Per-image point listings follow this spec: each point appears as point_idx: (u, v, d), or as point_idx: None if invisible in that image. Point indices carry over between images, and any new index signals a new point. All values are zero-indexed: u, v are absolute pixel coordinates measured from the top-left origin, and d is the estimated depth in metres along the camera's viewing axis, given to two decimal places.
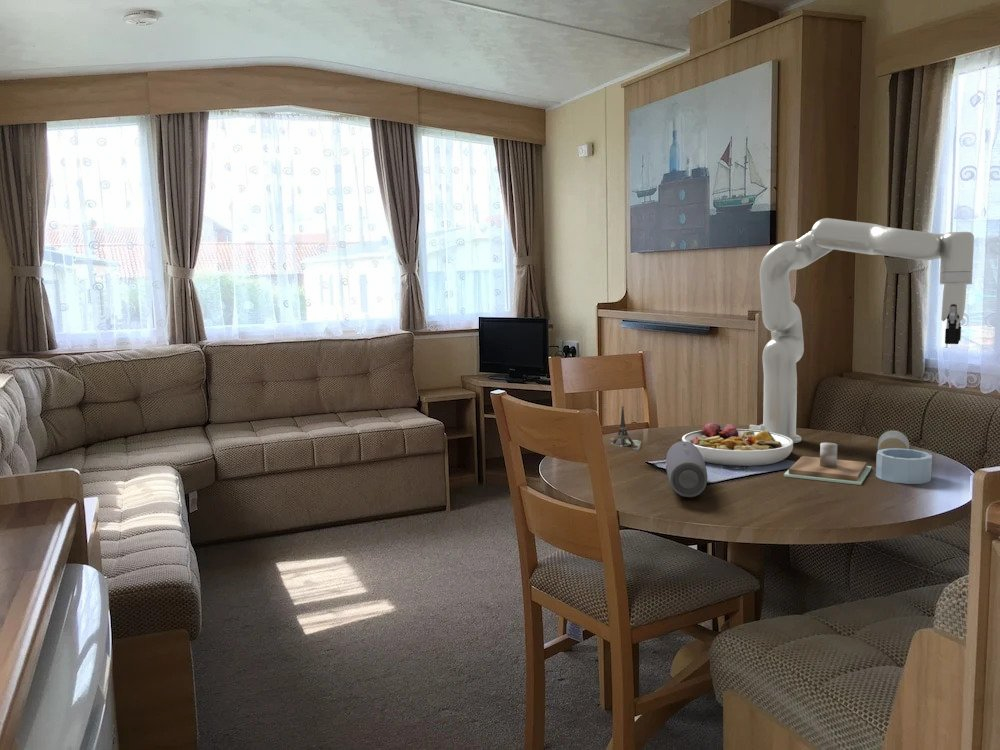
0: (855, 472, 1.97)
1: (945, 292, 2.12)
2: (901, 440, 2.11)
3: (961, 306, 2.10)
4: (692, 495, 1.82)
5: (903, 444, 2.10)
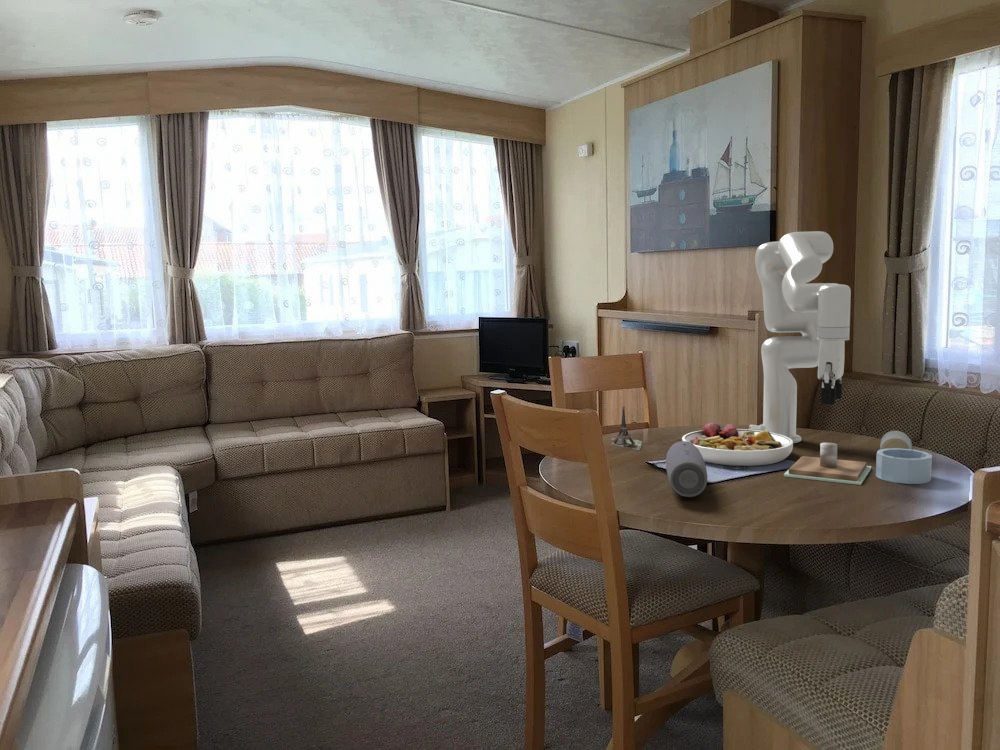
0: (855, 472, 1.97)
1: (820, 349, 1.98)
2: (903, 440, 2.11)
3: (837, 364, 1.96)
4: (692, 495, 1.82)
5: (905, 444, 2.10)
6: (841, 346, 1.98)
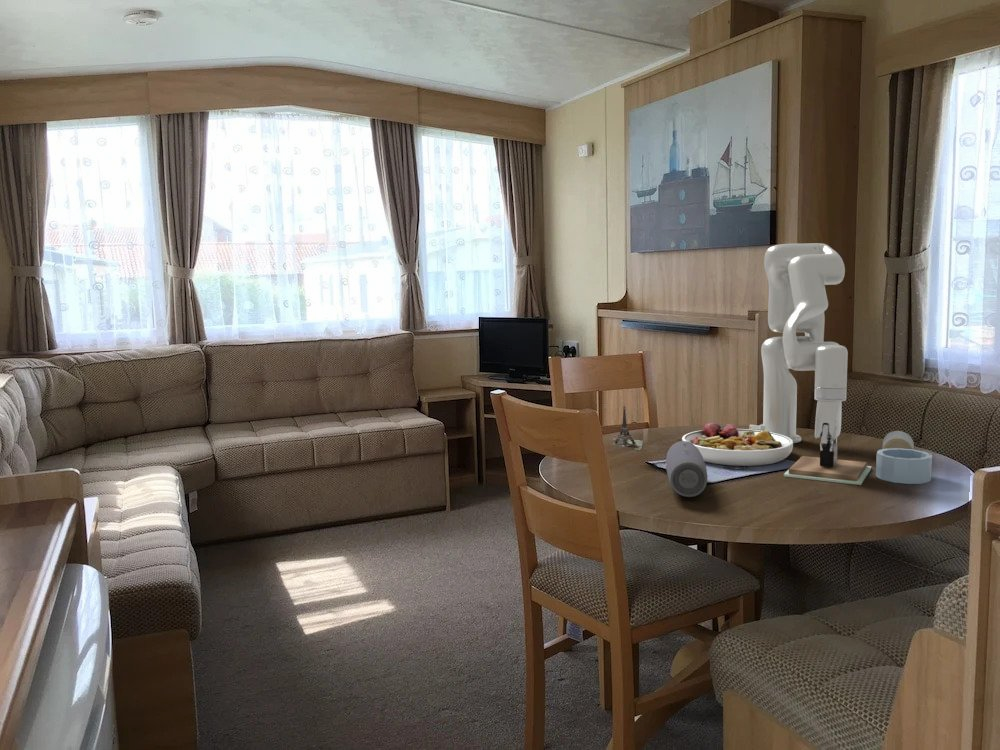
0: (855, 472, 1.97)
1: (817, 409, 2.00)
2: (906, 440, 2.10)
3: (833, 425, 1.98)
4: (692, 495, 1.82)
5: (908, 444, 2.10)
6: (838, 407, 2.00)
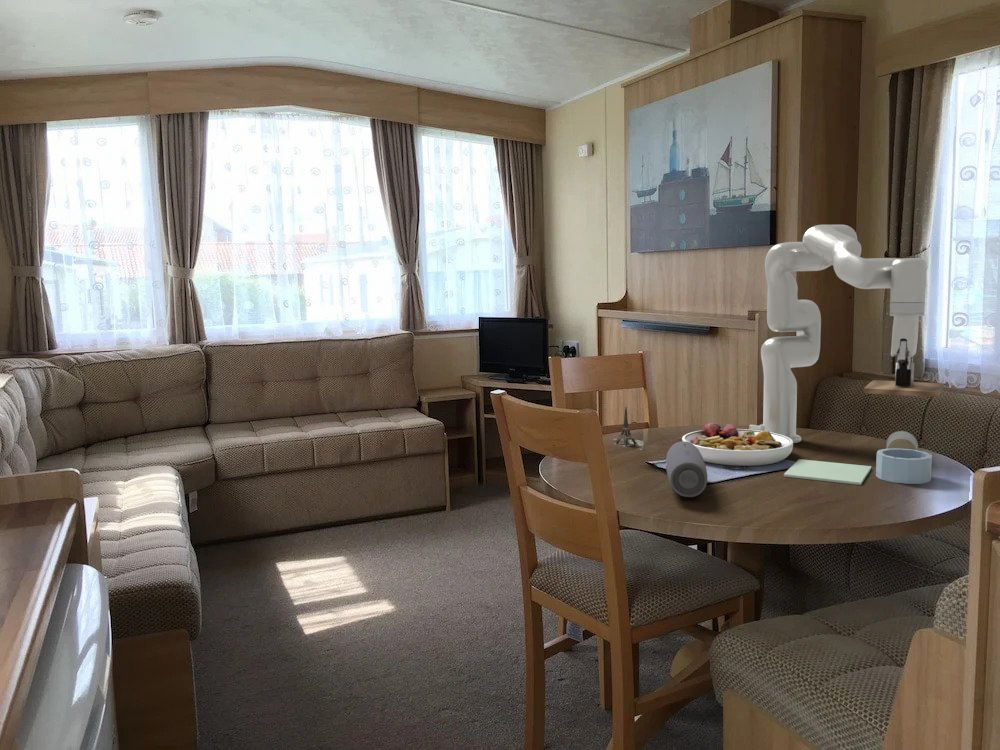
0: (935, 389, 1.88)
1: (894, 325, 1.91)
2: (910, 441, 2.10)
3: (912, 341, 1.89)
4: (692, 495, 1.82)
5: (912, 445, 2.09)
6: (916, 322, 1.91)
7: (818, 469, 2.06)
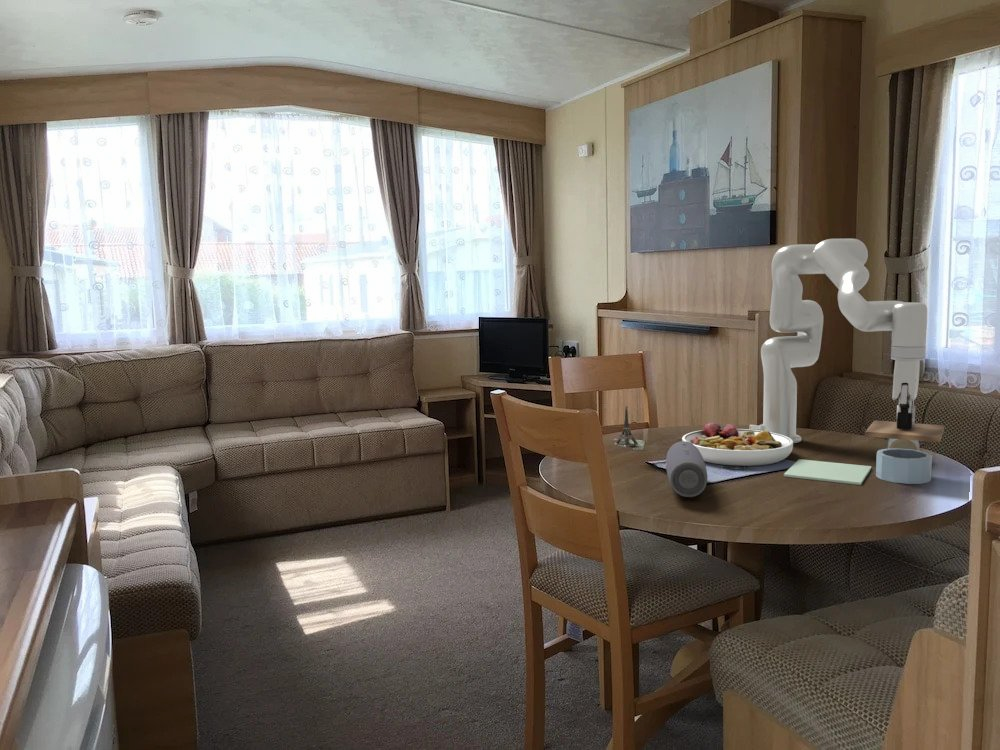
0: (936, 434, 1.90)
1: (896, 369, 1.92)
2: (911, 441, 2.10)
3: (913, 385, 1.90)
4: (692, 495, 1.82)
5: (913, 445, 2.09)
6: (917, 366, 1.92)
7: (818, 469, 2.06)
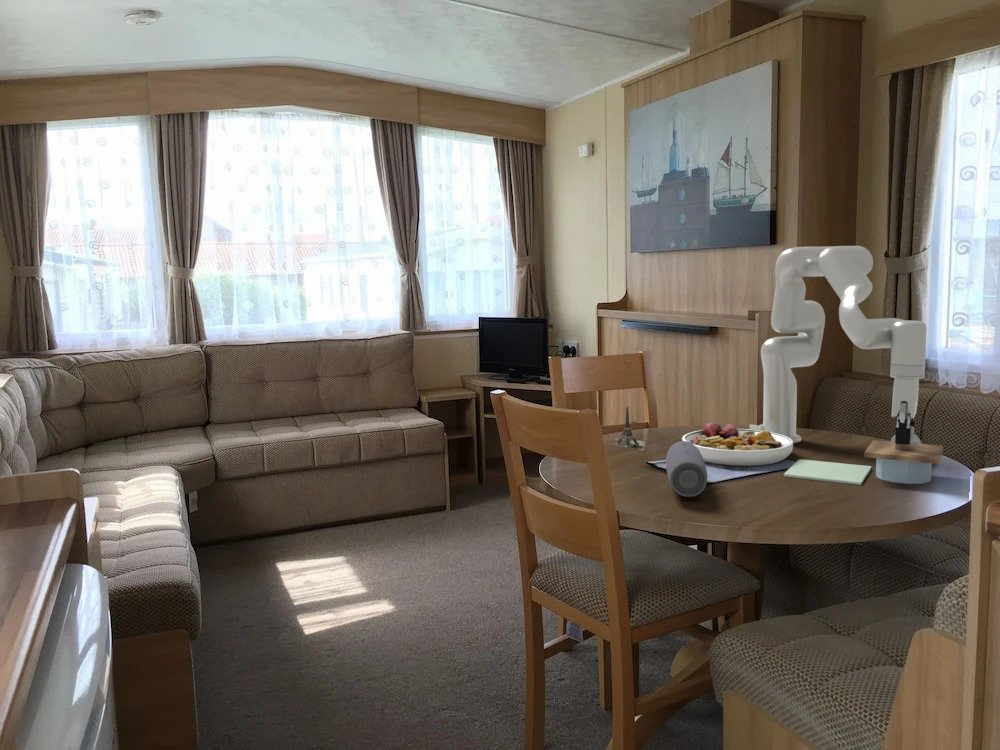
0: (935, 455, 1.90)
1: (895, 387, 1.93)
2: (914, 441, 2.10)
3: (912, 403, 1.91)
4: (692, 495, 1.82)
5: None
6: (916, 384, 1.92)
7: (818, 469, 2.06)
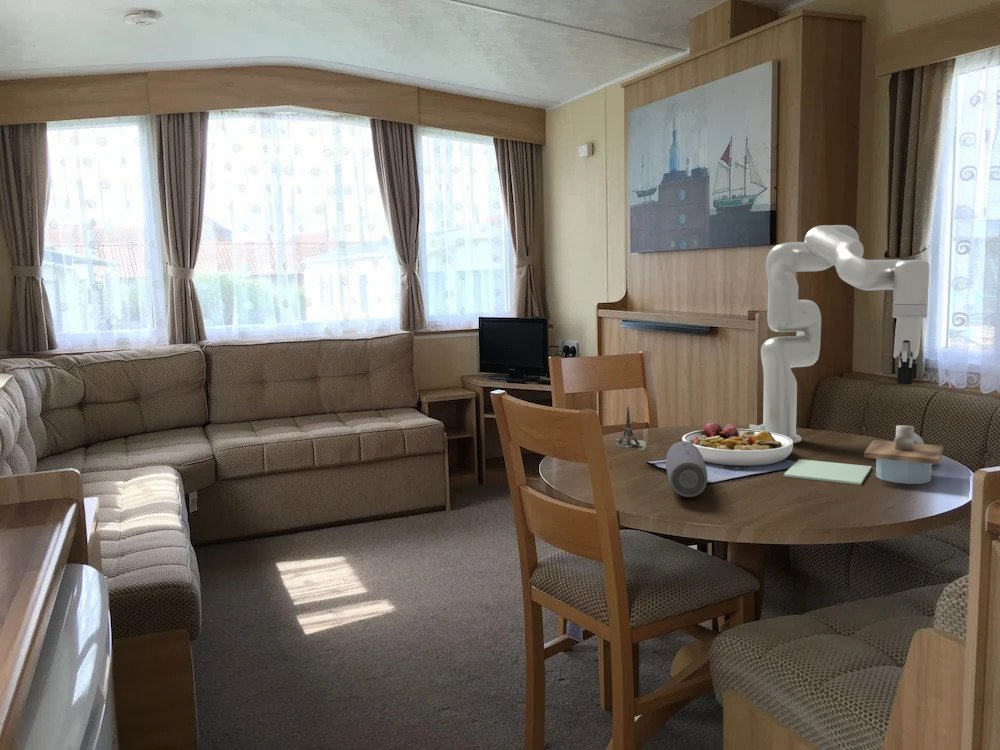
0: (935, 455, 1.90)
1: (897, 327, 1.91)
2: (917, 441, 2.09)
3: (915, 343, 1.89)
4: (692, 495, 1.82)
5: None
6: (919, 324, 1.90)
7: (818, 469, 2.06)
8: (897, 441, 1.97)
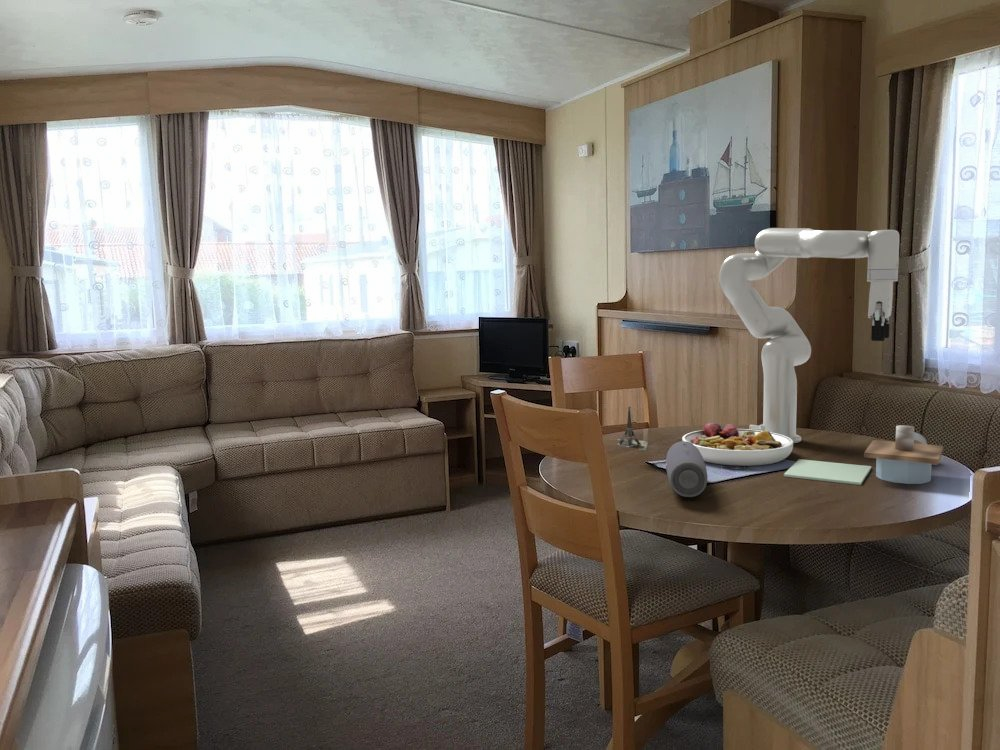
0: (935, 455, 1.90)
1: (871, 289, 2.14)
2: (920, 441, 2.09)
3: (886, 303, 2.12)
4: (692, 495, 1.82)
5: None
6: (890, 287, 2.13)
7: (818, 469, 2.06)
8: (897, 441, 1.97)
